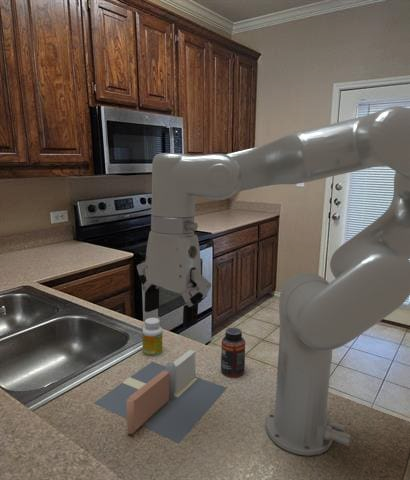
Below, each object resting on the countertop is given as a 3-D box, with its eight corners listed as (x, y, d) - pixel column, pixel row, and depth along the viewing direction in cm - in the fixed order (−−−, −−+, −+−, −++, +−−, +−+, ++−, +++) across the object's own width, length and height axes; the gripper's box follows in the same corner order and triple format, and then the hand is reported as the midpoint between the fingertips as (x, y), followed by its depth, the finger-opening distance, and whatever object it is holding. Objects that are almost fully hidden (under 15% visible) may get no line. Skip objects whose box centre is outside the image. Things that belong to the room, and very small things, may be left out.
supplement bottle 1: (158, 359, 94) (158, 325, 93) (139, 357, 95) (139, 323, 94) (164, 350, 100) (164, 317, 98) (146, 347, 101) (146, 315, 99)
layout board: (227, 389, 82) (228, 356, 80) (178, 445, 65) (179, 404, 63) (152, 362, 93) (151, 333, 91) (93, 404, 76) (92, 368, 74)
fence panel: (163, 397, 77) (163, 370, 76) (169, 400, 76) (169, 372, 75) (125, 431, 66) (124, 400, 65) (131, 435, 66) (131, 403, 64)
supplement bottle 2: (247, 369, 90) (249, 328, 88) (239, 382, 85) (241, 338, 83) (225, 364, 93) (227, 323, 91) (216, 375, 87) (218, 333, 85)
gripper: (225, 230, 60) (219, 324, 63) (153, 218, 70) (152, 300, 73) (197, 234, 54) (192, 339, 57) (123, 221, 64) (123, 310, 67)
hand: (170, 317), depth 65 cm, fingers open, 9 cm apart
